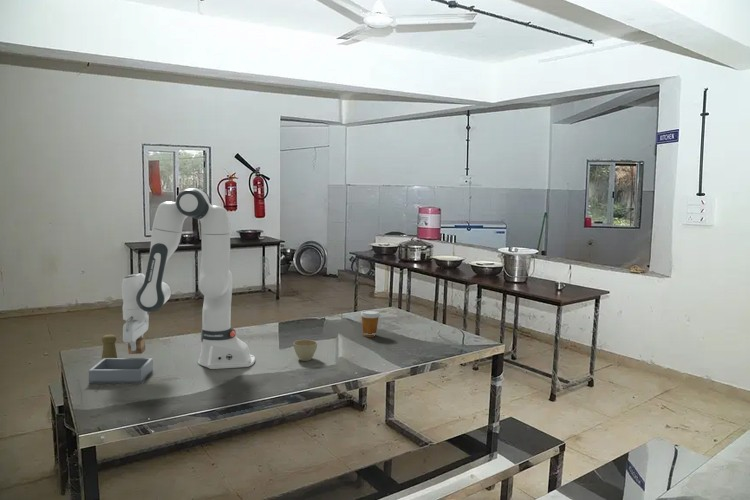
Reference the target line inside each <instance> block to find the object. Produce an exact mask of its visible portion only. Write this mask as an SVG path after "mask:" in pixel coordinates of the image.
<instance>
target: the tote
mask: <svg viewBox="0 0 750 500" xmlns="http://www.w3.org/2000/svg"><path fill="white" fill-rule="evenodd" d="M153 371H154V359H153V358H152V357H145V358H144V357H142V358H141V357H140V358H139V357H137V358H135V357H134V358H133V357H128V358H127V357H120V358H119V357H117V358H104V359H102V358H101V359H100V361H98V363H96V364H95V365H93V366H92V367H91V368H89V370H88V384H90V385H96V384H97V385H107V384H109V385H111V384H112V385H118V384H119V385H122V384H123V385H125V384H127V385H129V384H131V385H134V384H135V385H137V384H138V385H140V384H141V385H142V384H143V383H144V382H145V380H146V379H147V378H148V377H149V376H150V375H151V374H152V372H153Z"/></svg>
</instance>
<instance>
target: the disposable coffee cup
mask: <svg viewBox="0 0 750 500" xmlns="http://www.w3.org/2000/svg"><path fill="white" fill-rule="evenodd" d="M380 315H381V314H380V311H378V310H374V309H363V310H361V313H360V317H361V326H362V336H363V337H365V338H375V337H374V335H364V334H363V333H368V334H372V333H376V334H377V330H378V324H379V317H380Z"/></svg>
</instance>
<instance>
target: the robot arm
mask: <svg viewBox="0 0 750 500" xmlns="http://www.w3.org/2000/svg"><path fill="white" fill-rule="evenodd" d="M188 217H189V218H192V219H194V220H195V219H196V220H199V222H200V227H201V230H200V231H201V258H200V266H199V267H200V269H199V282H198V286H199V290H200V292H201V294H202V295H203V296H204V297H203V306H202V310H201V312H202V318H201V319H202V328H201V330H200V342H201V347H200V348H201V349H200V354H199V358H198V361H197V362H198V364H199V365H200V366H202V367H206V368H208V369H210V370H221V369H234V368H248V367H251V366H253V365H254V363H255V361H256V358H255V355H254V354H250V353H251V352H250V349H249V346H248V344H247V343H246V342H244V341H242V340H241V339H240V338H238V337H237V336H236V335H237V334H236V333H237V331H236V328H234V327H232V326H231V321H232V320H231V317H232V314H231V309H232V298H233V283H234V282H233V281H234V278H233V277H234V276H233V273H232V271H231V270H230V260H231V259H230V258H231V227H230V225H231V224H230V219H229V214H228V211H227V209H226V208H225V207H223V206H221V205H213V204H211V198H210V196H209V195H208V193H207V192H206V191H205V190H202V189H200V188H196V187H190V188H186V189H185V188H184V189H182V190H181V191H180V192H179V193H178V194H177V196H176V200H175V201H163V202H161V203H160V204H158V206H157V209H156V212H155V215H154V218H153V222H152V223H153V224H152V228H151V234H150V248H149V257H148V262H147V266H146V271H145V272H146V273H145V274H144V273H142V272H141V273H132V274H129V275H126V276H125V277H124V278H123V279H122V281H121V298H122V303H123V304H122V320H124V321H125V322H124V324H123V325H122V326H123V327H122V341H123V343H124V344H128V343H130V346H131V350H132V351H135V350H137V345H136V340H137V339H138V338H144V334H145V333H146V332H147V331H148V330H149V323H150V322H149V317H150V315H149V314H150V313H155V312H157V311H159V310H160V309H161V308H162V307H163V306H164V304H166V302H167V301H168V300H170V298H171V297H172V288H171V287H170V285H169V284H168V283H167V282H166V281H163V279H164V276H165V270H166V266H167V263H168V262H169V259H170V258H171V256H172V255H173V254H174V253H175V252H176V250H177V249H178V247H179V244H180V242H181V238H182V234H183V233H182V232H183V228H184V222H185V220H186V219H187V218H188Z"/></svg>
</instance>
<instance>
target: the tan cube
mask: <svg viewBox="0 0 750 500" xmlns="http://www.w3.org/2000/svg"><path fill="white" fill-rule="evenodd" d="M145 338H146V337H143V338H138V339H137V340H136V345H137V350H135V351H132V350H131V346H130V343H127V349H128V350H127V353H128V355H137V354H138V355H139V354H140V355H141V354H143V353H144V352H145V351H146V339H145Z"/></svg>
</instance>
